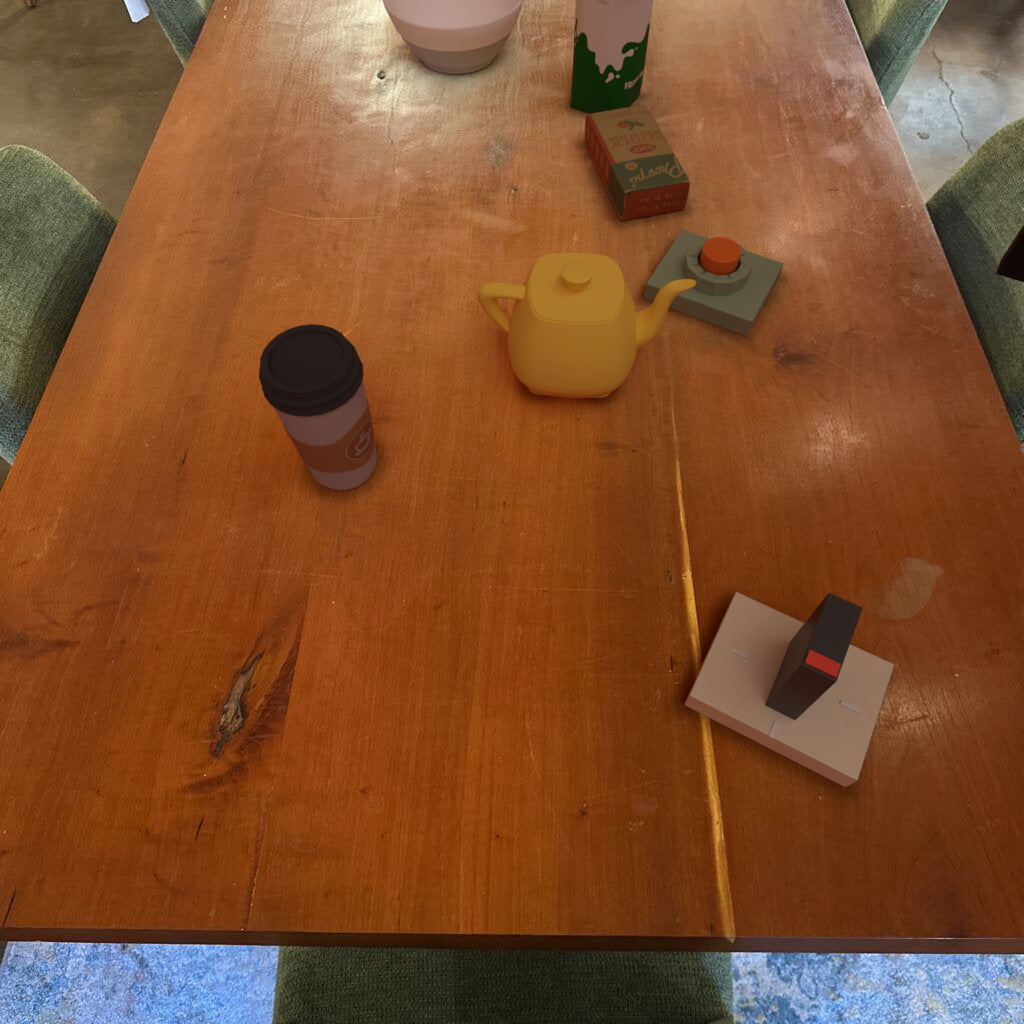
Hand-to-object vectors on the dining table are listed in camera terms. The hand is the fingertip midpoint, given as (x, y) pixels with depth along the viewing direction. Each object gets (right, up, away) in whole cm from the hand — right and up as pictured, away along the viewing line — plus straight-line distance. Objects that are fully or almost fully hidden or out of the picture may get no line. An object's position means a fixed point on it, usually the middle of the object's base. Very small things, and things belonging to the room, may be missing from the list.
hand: (1019, 273), depth 51 cm
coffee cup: (-50, -11, +23) cm, 56 cm away
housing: (-12, +9, +34) cm, 37 cm away
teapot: (-27, -1, +29) cm, 39 cm away
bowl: (-42, +50, +60) cm, 89 cm away
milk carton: (-21, +40, +53) cm, 69 cm away
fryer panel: (-12, -30, +10) cm, 34 cm away
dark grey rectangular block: (-12, -29, +8) cm, 32 cm away
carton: (-19, +26, +45) cm, 55 cm away
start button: (-12, +11, +31) cm, 35 cm away
